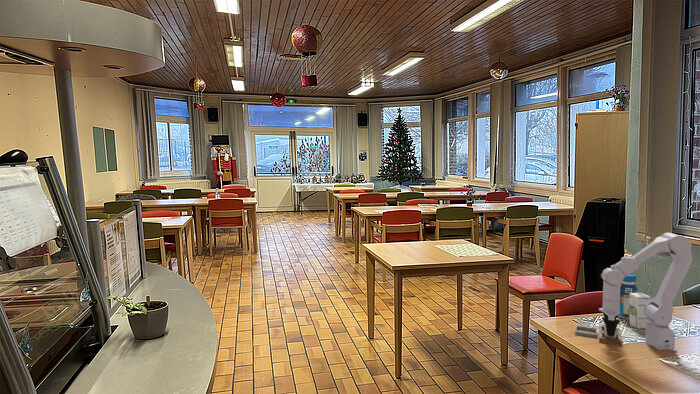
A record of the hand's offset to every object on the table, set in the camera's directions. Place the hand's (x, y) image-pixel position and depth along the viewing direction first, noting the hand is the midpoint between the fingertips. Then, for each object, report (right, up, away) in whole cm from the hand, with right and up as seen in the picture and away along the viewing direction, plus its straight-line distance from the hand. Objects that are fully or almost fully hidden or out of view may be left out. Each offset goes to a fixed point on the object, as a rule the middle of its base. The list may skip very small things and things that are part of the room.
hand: (610, 332), depth 170 cm
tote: (-5, -3, +8) cm, 10 cm away
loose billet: (0, -3, 0) cm, 3 cm away
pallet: (+2, -4, +4) cm, 6 cm away
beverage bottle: (+26, -2, +30) cm, 39 cm away
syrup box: (+22, -3, +16) cm, 28 cm away
